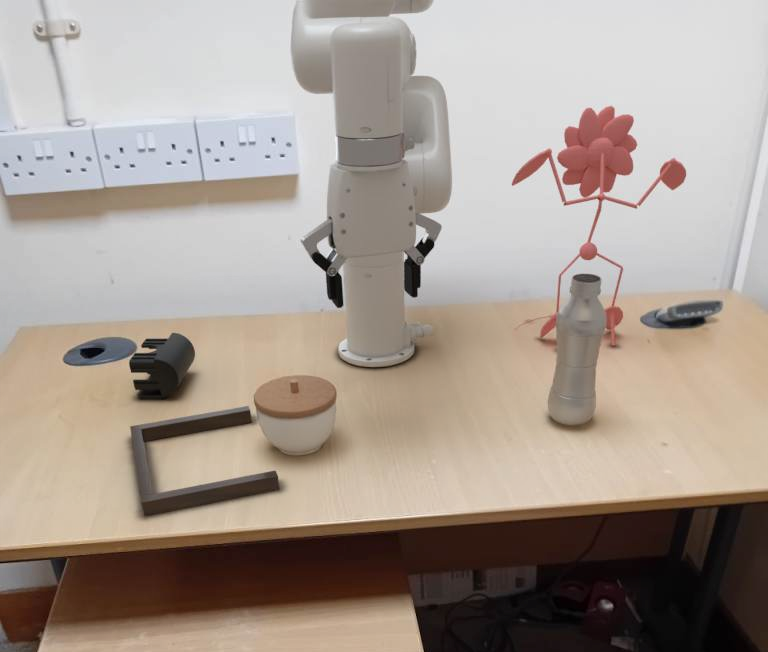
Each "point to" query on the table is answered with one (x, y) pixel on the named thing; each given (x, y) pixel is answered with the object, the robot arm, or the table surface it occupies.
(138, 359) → the end cap
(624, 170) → the figurine
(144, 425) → the frame
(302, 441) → the trinket box
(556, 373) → the plastic bottle
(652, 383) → the table surface
